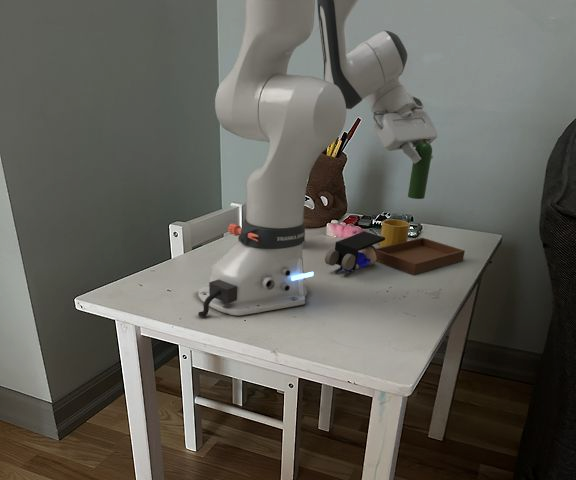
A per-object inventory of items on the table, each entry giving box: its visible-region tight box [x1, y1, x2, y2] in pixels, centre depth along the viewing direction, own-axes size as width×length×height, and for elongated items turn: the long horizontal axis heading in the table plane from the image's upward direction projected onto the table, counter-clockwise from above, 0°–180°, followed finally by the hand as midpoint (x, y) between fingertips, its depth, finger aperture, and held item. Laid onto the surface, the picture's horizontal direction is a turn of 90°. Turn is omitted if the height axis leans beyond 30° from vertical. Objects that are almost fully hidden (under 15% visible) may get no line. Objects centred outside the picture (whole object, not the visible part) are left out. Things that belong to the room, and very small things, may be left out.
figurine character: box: [324, 230, 385, 277], centre depth 125 cm, size 7×8×15 cm
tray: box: [375, 237, 466, 276], centre depth 135 cm, size 19×13×3 cm
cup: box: [378, 219, 411, 247], centre depth 143 cm, size 7×7×6 cm
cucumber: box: [407, 138, 433, 200], centre depth 130 cm, size 4×4×13 cm
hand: (424, 160), depth 129 cm, fingers closed on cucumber, 4 cm apart
